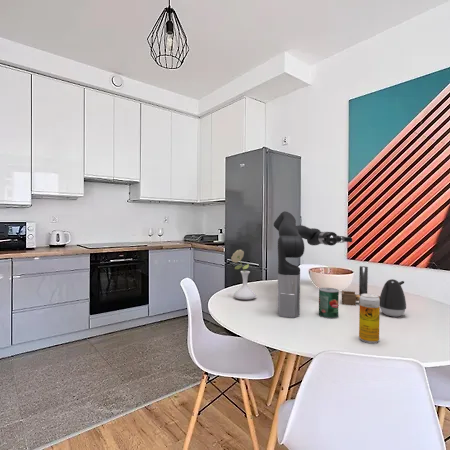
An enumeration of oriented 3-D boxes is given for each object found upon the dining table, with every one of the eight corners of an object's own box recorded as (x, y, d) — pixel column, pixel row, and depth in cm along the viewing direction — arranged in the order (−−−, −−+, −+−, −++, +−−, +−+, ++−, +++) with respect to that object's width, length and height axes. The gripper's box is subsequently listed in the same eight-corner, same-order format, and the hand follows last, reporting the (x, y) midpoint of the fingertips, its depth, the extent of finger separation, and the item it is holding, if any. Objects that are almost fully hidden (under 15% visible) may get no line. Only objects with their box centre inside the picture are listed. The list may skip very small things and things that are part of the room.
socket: (355, 305, 147) (355, 295, 147) (342, 304, 149) (342, 293, 149) (354, 301, 154) (354, 291, 154) (341, 300, 156) (341, 290, 156)
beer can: (359, 342, 102) (360, 296, 102) (358, 336, 108) (359, 292, 108) (380, 345, 100) (380, 298, 100) (378, 338, 106) (378, 294, 106)
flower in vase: (250, 295, 166) (251, 248, 165) (259, 300, 155) (260, 250, 155) (227, 296, 162) (228, 248, 161) (235, 302, 151) (235, 250, 151)
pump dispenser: (412, 318, 129) (413, 281, 129) (389, 319, 127) (390, 281, 127) (395, 311, 139) (395, 276, 139) (373, 312, 137) (374, 277, 137)
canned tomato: (338, 319, 126) (338, 292, 126) (318, 317, 129) (318, 290, 128) (338, 314, 133) (338, 288, 133) (319, 312, 136) (319, 287, 136)
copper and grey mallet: (382, 305, 145) (382, 268, 145) (345, 302, 150) (345, 266, 150) (381, 303, 149) (381, 267, 149) (345, 300, 154) (345, 265, 154)
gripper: (316, 231, 175) (331, 232, 159) (339, 231, 178) (356, 232, 162) (316, 245, 175) (331, 247, 159) (339, 244, 178) (356, 247, 162)
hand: (344, 240), depth 161 cm, fingers open, 8 cm apart
